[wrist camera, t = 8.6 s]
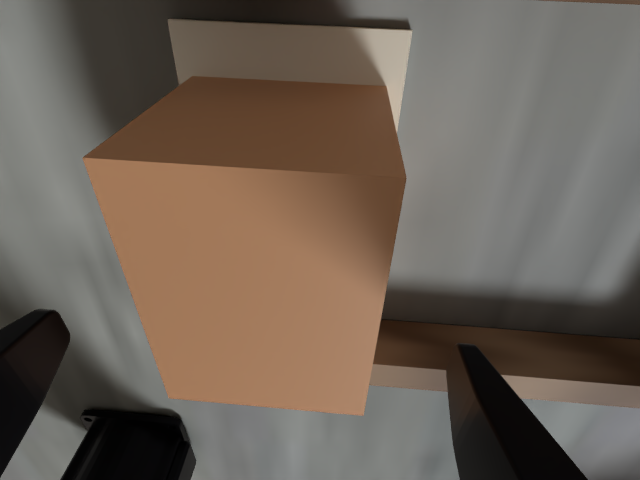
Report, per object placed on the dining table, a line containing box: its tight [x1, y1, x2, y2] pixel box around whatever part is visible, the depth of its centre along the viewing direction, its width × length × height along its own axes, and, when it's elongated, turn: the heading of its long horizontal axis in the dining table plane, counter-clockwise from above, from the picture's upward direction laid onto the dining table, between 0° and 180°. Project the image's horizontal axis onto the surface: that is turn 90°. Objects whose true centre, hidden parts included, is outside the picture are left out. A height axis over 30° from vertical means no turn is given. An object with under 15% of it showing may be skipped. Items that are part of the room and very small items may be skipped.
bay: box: [167, 0, 640, 408], centre depth 12 cm, size 21×16×4 cm
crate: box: [83, 76, 406, 416], centre depth 12 cm, size 6×8×6 cm
